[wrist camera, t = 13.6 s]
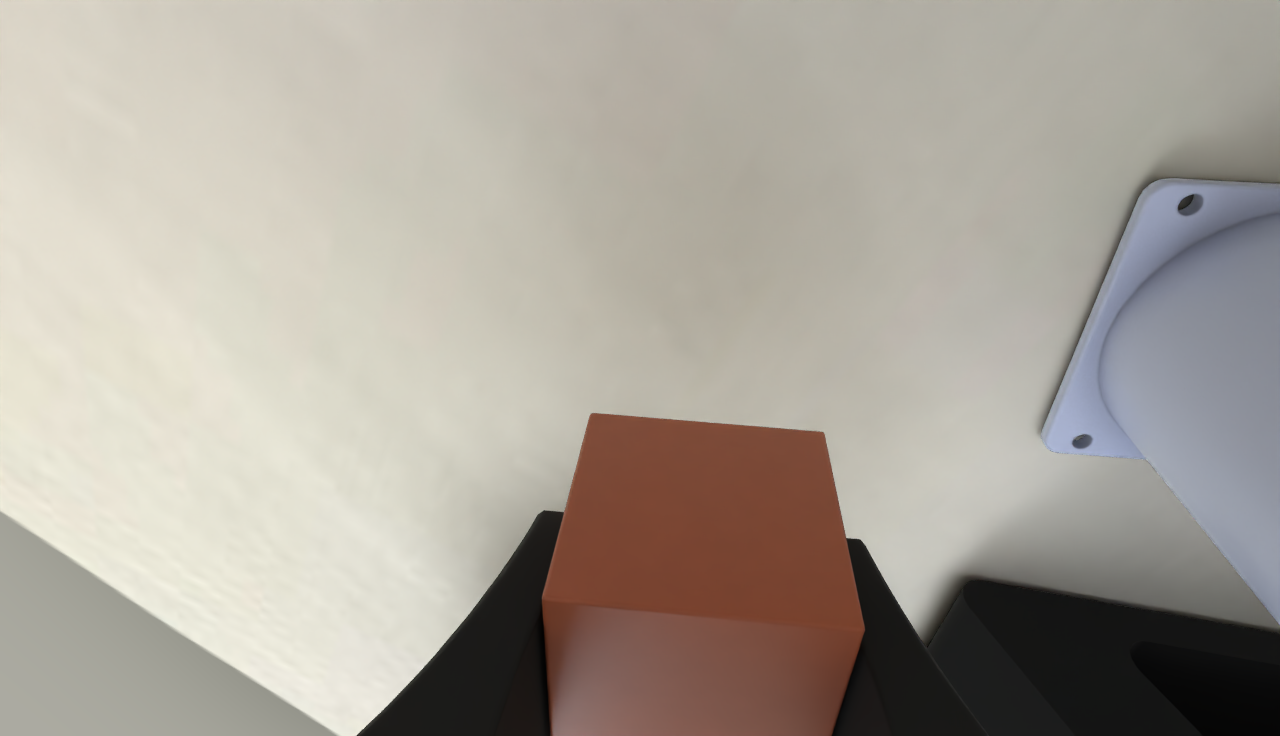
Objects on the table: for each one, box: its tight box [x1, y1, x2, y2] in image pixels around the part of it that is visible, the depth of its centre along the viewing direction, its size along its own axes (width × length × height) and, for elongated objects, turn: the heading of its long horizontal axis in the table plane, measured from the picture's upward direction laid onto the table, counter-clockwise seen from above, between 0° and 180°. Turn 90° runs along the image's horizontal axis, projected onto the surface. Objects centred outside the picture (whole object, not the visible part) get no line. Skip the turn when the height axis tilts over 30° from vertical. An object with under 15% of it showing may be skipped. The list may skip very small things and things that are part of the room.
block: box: [542, 413, 865, 736], centre depth 11 cm, size 4×4×4 cm
